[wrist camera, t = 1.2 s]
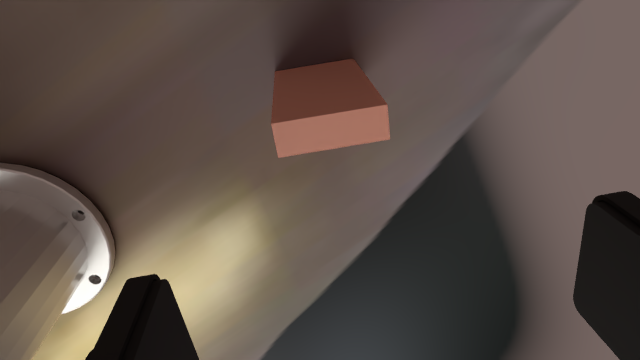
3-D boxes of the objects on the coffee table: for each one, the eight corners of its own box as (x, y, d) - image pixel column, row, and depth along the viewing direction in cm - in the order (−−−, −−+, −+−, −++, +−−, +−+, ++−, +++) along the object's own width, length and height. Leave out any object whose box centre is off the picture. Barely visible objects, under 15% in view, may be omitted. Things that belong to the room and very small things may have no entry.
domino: (356, 83, 28) (390, 139, 19) (279, 95, 28) (278, 157, 19) (353, 58, 27) (387, 104, 18) (275, 71, 27) (271, 123, 18)
